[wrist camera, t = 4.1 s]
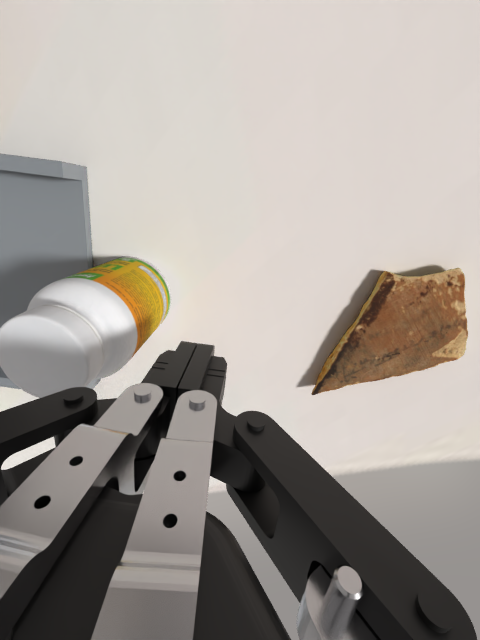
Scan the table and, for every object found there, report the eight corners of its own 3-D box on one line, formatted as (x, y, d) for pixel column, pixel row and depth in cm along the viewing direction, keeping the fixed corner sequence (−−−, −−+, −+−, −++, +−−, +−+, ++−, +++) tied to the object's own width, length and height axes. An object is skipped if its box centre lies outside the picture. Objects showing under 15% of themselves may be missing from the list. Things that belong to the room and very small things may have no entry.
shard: (308, 384, 23) (312, 398, 22) (283, 295, 21) (285, 303, 19) (455, 350, 21) (472, 362, 20) (447, 248, 19) (465, 252, 17)
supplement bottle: (143, 241, 20) (41, 271, 11) (187, 308, 21) (132, 384, 12) (83, 279, 21) (-53, 335, 12) (129, 340, 22) (39, 431, 13)
